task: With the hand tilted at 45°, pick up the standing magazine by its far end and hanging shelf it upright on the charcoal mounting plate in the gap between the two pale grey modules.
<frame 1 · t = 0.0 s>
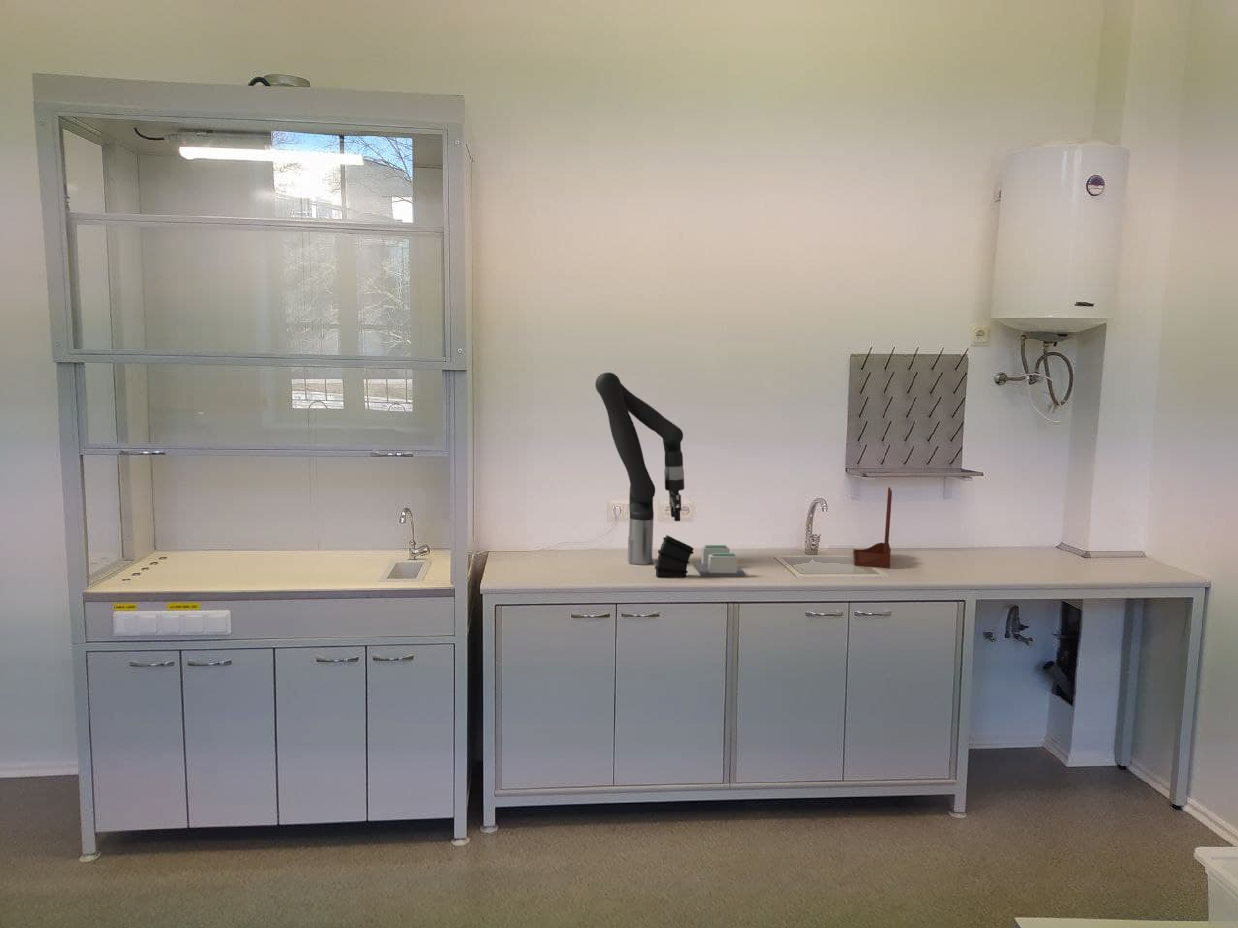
hand: (675, 518, 298), 17 cm above the countertop, tool pointing down, fingers open, 8 cm apart
mounting plate: (718, 571, 288), on the countertop
magazine: (673, 576, 279), on the countertop
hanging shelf: (870, 561, 313), on the countertop
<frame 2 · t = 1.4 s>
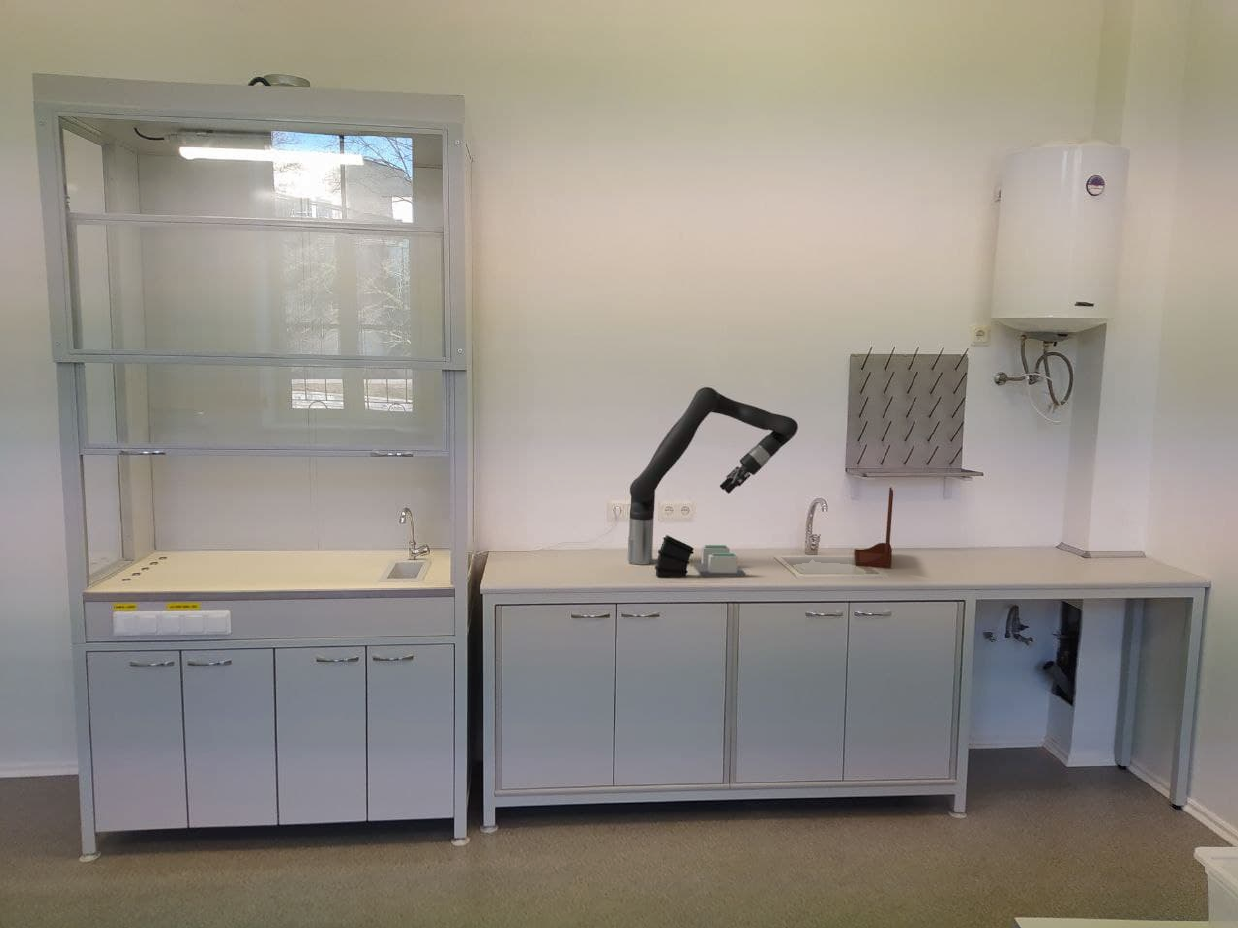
hand: (723, 490, 284), 31 cm above the countertop, tool tilted 45°, fingers open, 8 cm apart
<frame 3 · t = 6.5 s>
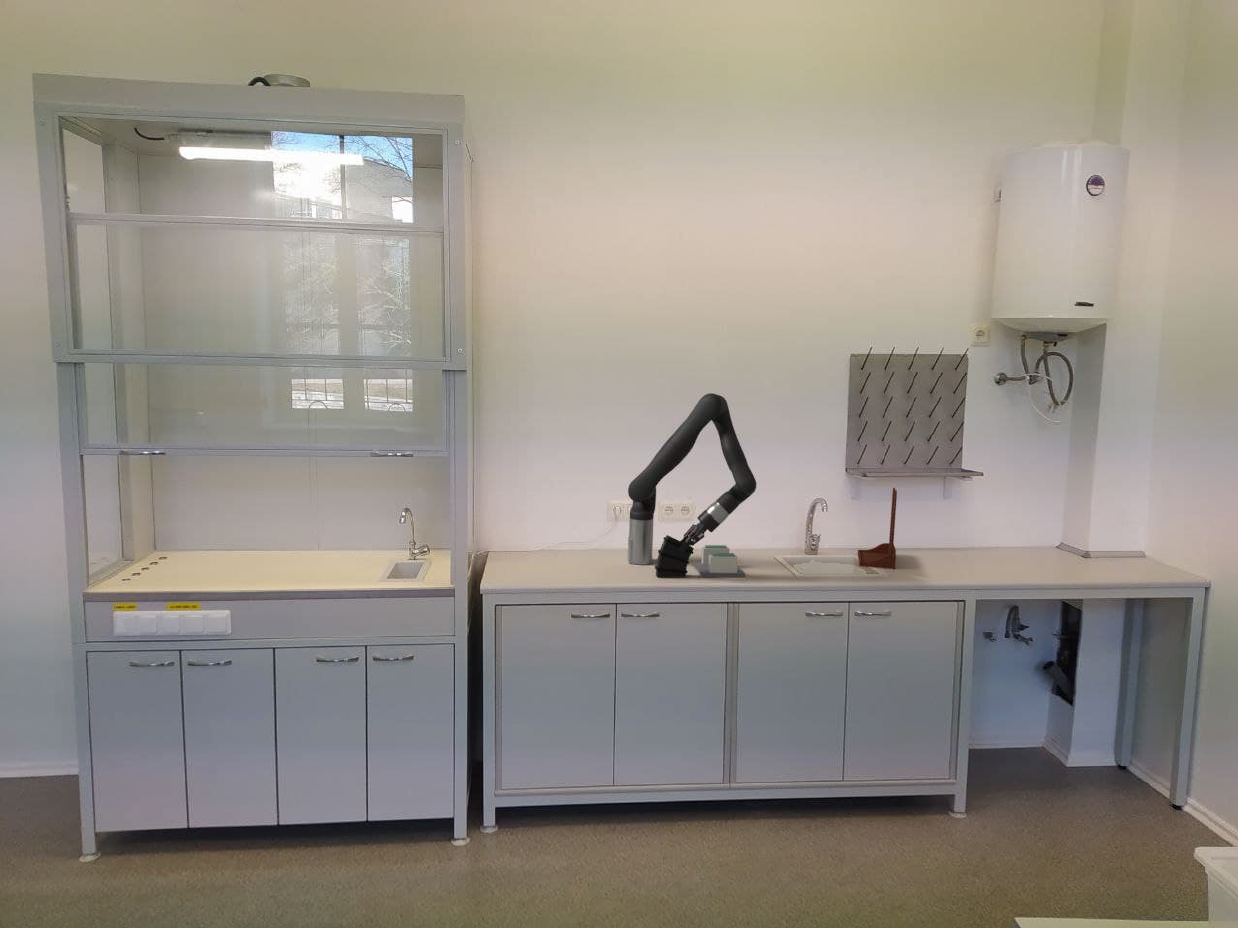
hand: (679, 548, 278), 10 cm above the countertop, tool tilted 45°, fingers closed on magazine, 4 cm apart
magazine: (673, 576, 279), on the countertop, touching gripper
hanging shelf: (875, 561, 312), on the countertop
when the fingers open (13 cm above the countertop, at t = 12.8 s): magazine drops 1 cm, resting on mounting plate.
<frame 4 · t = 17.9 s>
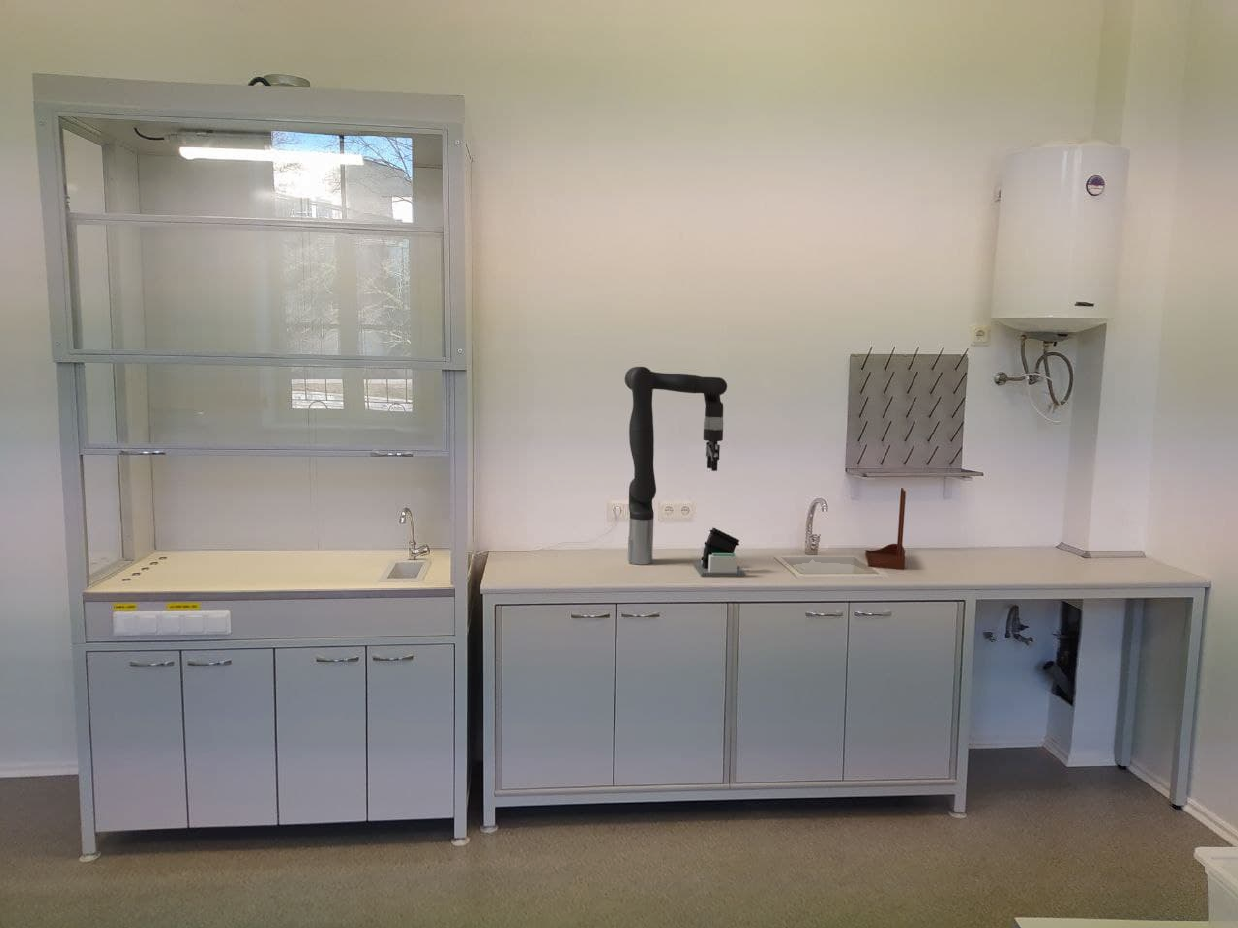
hand: (711, 469, 303), 36 cm above the countertop, tool pointing down, fingers open, 8 cm apart
magazine: (719, 567, 288), point 1 cm above the countertop, touching mounting plate
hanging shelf: (883, 562, 311), on the countertop
at the end: magazine inside the target area on the mounting plate (0.5 cm from its centre), point 1.3 cm above the mounting plate's base; magazine tilted 1°; the gripper is holding nothing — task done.
